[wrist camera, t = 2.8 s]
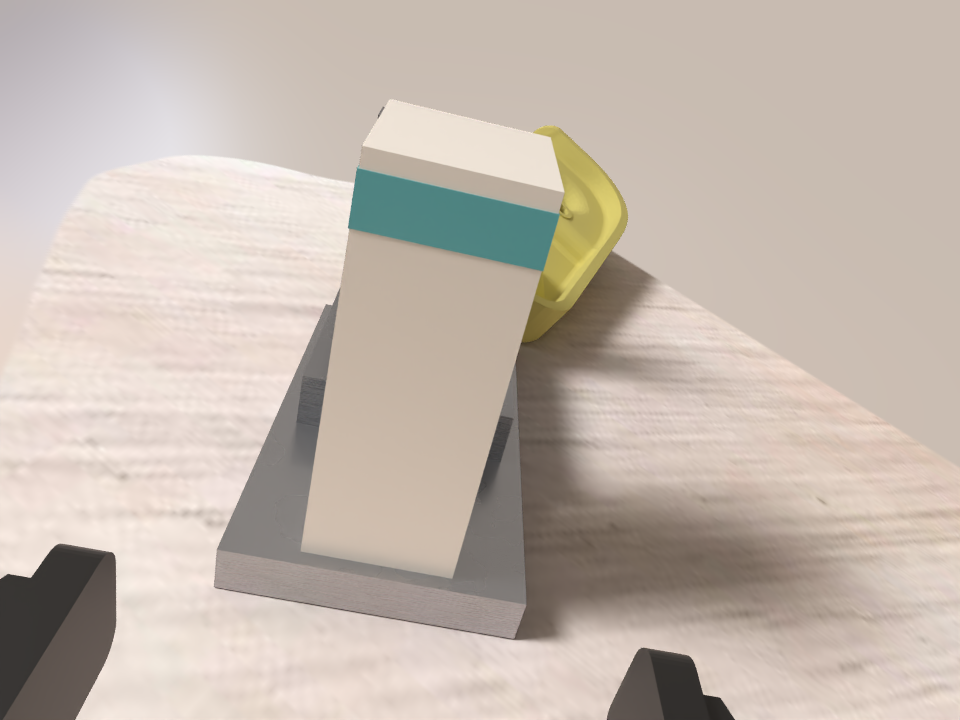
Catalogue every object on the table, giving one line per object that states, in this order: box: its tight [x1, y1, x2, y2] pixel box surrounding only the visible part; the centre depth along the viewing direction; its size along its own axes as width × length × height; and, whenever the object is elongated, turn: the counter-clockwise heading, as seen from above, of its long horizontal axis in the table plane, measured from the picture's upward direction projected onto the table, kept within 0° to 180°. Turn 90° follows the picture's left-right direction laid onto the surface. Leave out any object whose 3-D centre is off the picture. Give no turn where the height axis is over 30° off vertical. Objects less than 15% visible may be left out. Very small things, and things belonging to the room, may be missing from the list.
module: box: [300, 99, 565, 579], centre depth 22 cm, size 5×5×12 cm
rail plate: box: [214, 287, 527, 639], centre depth 29 cm, size 16×9×4 cm, turn 179°
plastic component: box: [521, 126, 628, 342], centre depth 48 cm, size 20×7×10 cm
